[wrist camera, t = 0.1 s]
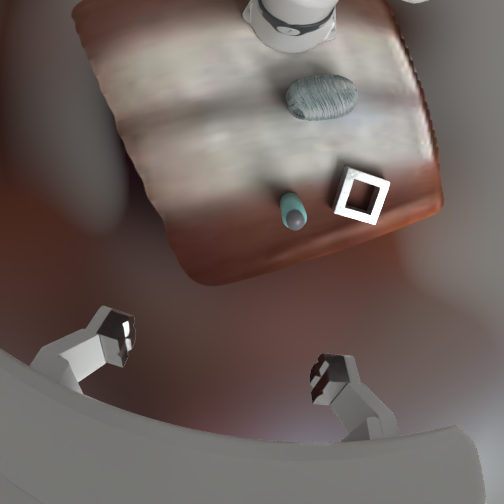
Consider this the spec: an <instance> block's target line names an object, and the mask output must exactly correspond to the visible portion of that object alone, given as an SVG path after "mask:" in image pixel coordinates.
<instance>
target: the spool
mask: <svg viewBox="0 0 504 504" xmlns="http://www.w3.org/2000/svg"><path fill="white" fill-rule="evenodd" d="M357 97H358V90H357V87H356V86H355V84H354V83H353V82H351V81H350V80H349V79H347V78H345V77H342V76H339V75H330V74H324V75H315V76H310V77H306V78H302V79H300V80H297V81H295V82H293V83H292V84H291V85H290V86H289V88H288V90H287V93H286V103H287V107H288V110H289V111H290V113H291V114H292V115H293V116H294V117H296V118H298V119H302V120H309V121H313V120H315V121H317V120H329V119H334V118H339V117H342V116H345V115H347V114H348V113H350V112H351V111H352V109H353V108H354V107H355V105H356V101H357Z"/></svg>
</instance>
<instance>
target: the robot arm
mask: <svg viewBox="0 0 504 504" xmlns="http://www.w3.org/2000/svg"><path fill="white" fill-rule="evenodd" d="M338 1H339V0H250V2H249V3H248V5H247V7H246V8H245V10H244V12H243V15H242V17H243V19H244V20H245V21H246V22H248V23H249V24H250V25H251V26H252V27H253V29H254V31H255V33H256V35H257V36H258V37H259V39H260V40H261V41H262V42H263V43H264V44H266V45H267V46H269V47H271V48H272V49H275V50H277V51H281V52H285V53H301V52H305V51H308V50H310V49H312V48H314V47H315V46H317V45H318V44H320V43H321V42H325V41H330V40H333V39H334V38H335V37H336V9H335V5H336V3H337V2H338ZM403 1H406V2H409V3H420V2H424V1H427V0H403ZM249 11H250V12H249ZM331 30H332V31H331ZM134 322H135V320H134V316H133V315H130V314H127V313H124V312H121V311H118V310H115V309H111V308H108V307H105V306H102V307H101V308H100V309H99V310H98V312H97V313H96V315H95V316H94V317H93V319H92V320H91V322H90V323H89V325H88V326H87V328H86V329H81V330H79V331H76V332H74V333H72V334H70V335H68V336H66V337H63V338H61V339H59V340H57V341H55V342H52V343H50V344H48V345H46V346H44V347H42V348H41V350H40V351H39V353H38V354H37V356H36V357H35V359H34V360H33V362H32V363H31V365H30V366H27V365H25V364H24V363H22V362H20V361H19V360H17V359H15V358H14V357H12V356H10V355H9V354H8V353H6V352H5V351H3V350H2V349H0V504H486V495H485V487H484V480H483V474H482V469H481V465H480V460H479V456H478V452H477V449H476V446H475V444H474V442H473V440H472V439H471V438H470V437H469V436H468V435H467V434H466V433H465V432H464V431H463V430H462V429H460V428H459V427H458V426H456V425H451V426H447V427H443V428H439V429H434V430H430V431H425V432H420V433H415V434H409V435H404V436H400V433H399V429H398V425H397V422H396V418H395V415H394V414H393V413H392V412H391V411H390V410H389V409H388V408H387V407H386V406H385V405H384V404H383V403H382V402H381V401H380V400H379V399H378V398H377V397H376V396H375V395H374V394H373V393H372V392H371V391H370V390H369V389H368V388H367V386H366V385H365V384H361V381H360V378H359V374H358V371H357V367H356V364H355V360H354V357H353V356H348V355H337V354H326V353H322V354H320V355H319V357H318V363H316V364H314V365H313V367H312V369H311V372H310V384H311V386H312V387H313V390H312V391H311V396H312V403H313V404H322V405H329V406H330V408H331V409H332V411H333V412H334V413H335V415H336V416H337V418H338V419H339V420H340V422H341V423H342V425H343V426H344V428H345V429H346V430H347V432H348V433H349V435H348V436H346V437H345V438H344V439H343V440H342V441H341V442H322V443H321V442H316V443H315V442H283V441H269V440H257V439H249V438H240V437H233V436H227V435H220V434H214V433H209V432H204V431H198V430H194V429H189V428H185V427H180V426H176V425H172V424H168V423H164V422H161V421H157V420H154V419H150V418H147V417H143V416H140V415H137V414H134V413H131V412H128V411H125V410H122V409H119V408H117V407H114V406H111V405H108V404H106V403H103V402H100V401H98V400H96V399H93V398H91V397H88V396H86V395H84V394H83V392H82V391H81V388H80V386H79V384H78V382H79V381H81V380H82V379H84V378H85V377H86V376H88V375H89V374H91V373H92V372H93V371H95V370H96V369H98V368H99V367H101V366H102V365H104V364H105V363H106V362H107V363H110V364H113V365H117V366H120V367H123V366H124V364H125V362H126V360H127V358H128V352H127V351H129V350H131V349H132V347H133V345H134V342H135V337H136V330H135V328H134V327H133V324H134Z"/></svg>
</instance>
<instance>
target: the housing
mask: <svg viewBox="0 0 504 504" xmlns="http://www.w3.org/2000/svg"><path fill="white" fill-rule="evenodd" d="M354 179H357V180H360V181H363V182H366V183H369V184H372V185H375V188H374V191H373V194H372V197H371V200H370V202H369V205H368V208H367V211H366V210H362V209H359V208H356V207H352V206H349V205H346V202H347V199H348V196H349V193H350V190H351V186H352V183H353V180H354ZM389 185H390V182H389V181H387V180H386V179H383V178H381V177H378V176H375V175H372V174H369V173H367V172H364V171H361V170H358V169H355V168H352V167H349V166H346V165H345V166H344V169H343V173H342V176H341V179H340V182H339V185H338V189H337V192H336V195H335V198H334V201H333V204H332V207H331V209H332V211H333V212H334V213H335V214H339V215H342V216H346V217H350V218H353V219H357V220H360V221H364V222H367V223H371V224H374V225H375V223H376V221H377V218H378V216H379V213H380V210H381V207H382V205H383V202H384V199H385V196H386V194H387V191H388V188H389Z"/></svg>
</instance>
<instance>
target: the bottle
mask: <svg viewBox="0 0 504 504" xmlns="http://www.w3.org/2000/svg"><path fill="white" fill-rule="evenodd" d="M280 208H281V214H282V220H283V223H284V224H285V226H286V227H288V228H290V229H292V230H299V229H301V228H302V227H303V226H304V224H305V223H306V220H307V215H306V212H305V209H304V207H303V205H302V202H301V200H300V198H299V196H298V195H297V194H295V193H286V194H284V195H283V196H282V197H281V199H280Z"/></svg>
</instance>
